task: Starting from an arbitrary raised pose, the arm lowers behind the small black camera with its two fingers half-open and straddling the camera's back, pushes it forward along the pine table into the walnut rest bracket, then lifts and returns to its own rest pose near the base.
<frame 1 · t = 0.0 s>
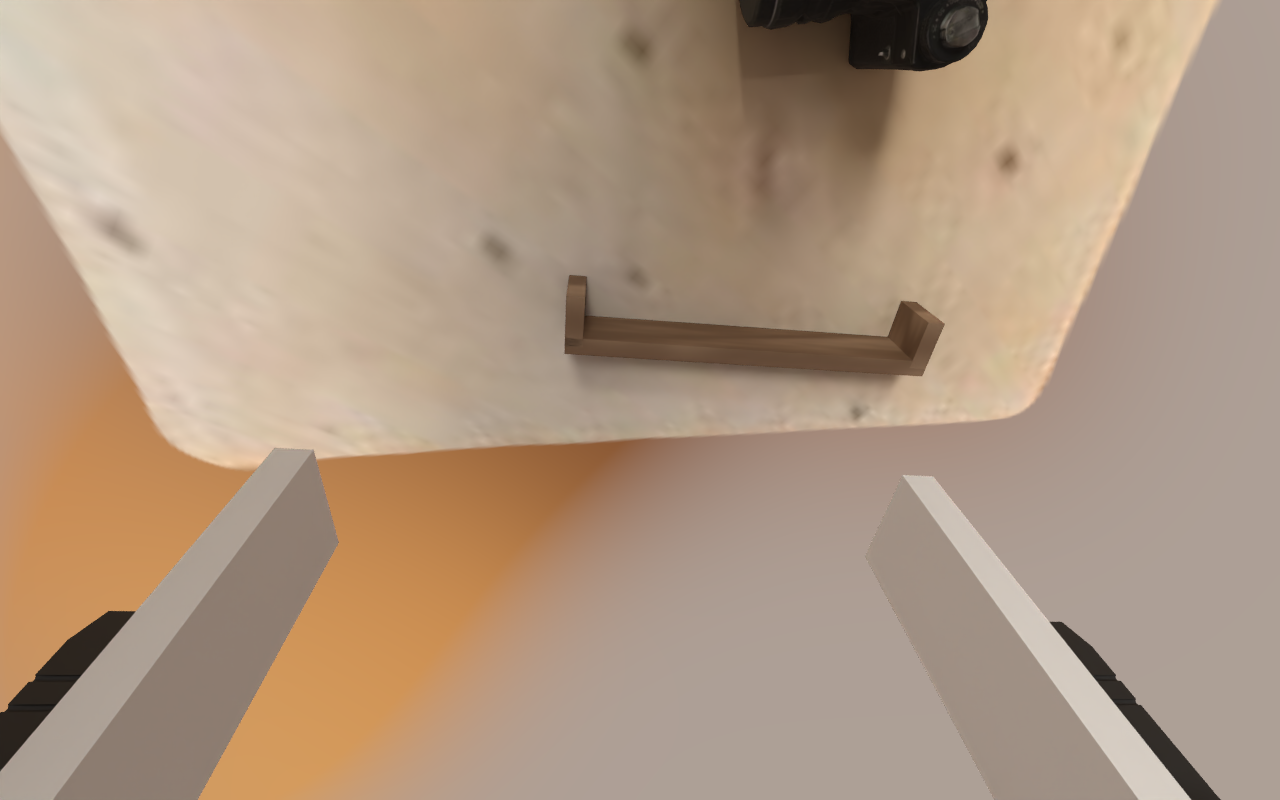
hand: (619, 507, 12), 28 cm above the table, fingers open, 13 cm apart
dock: (759, 241, 38), on the table
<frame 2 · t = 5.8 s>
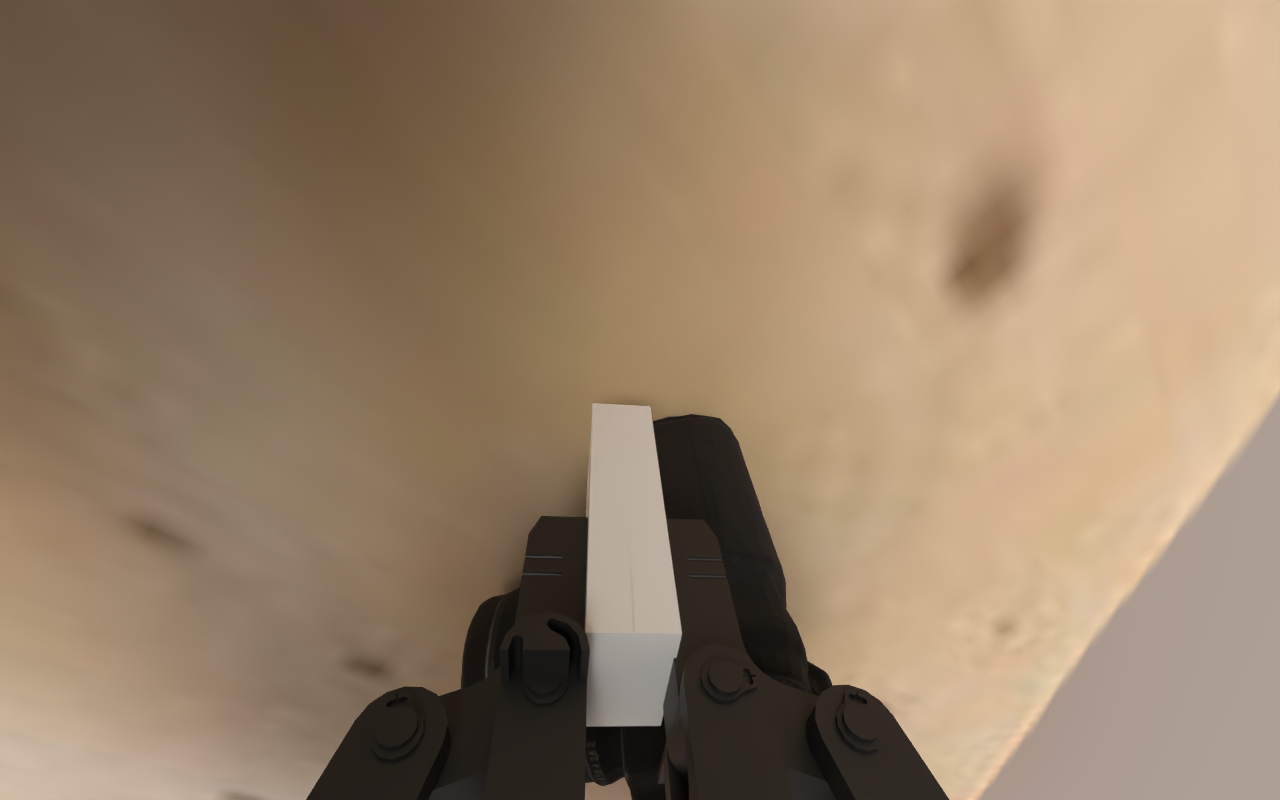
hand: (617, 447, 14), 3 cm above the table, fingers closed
camera: (627, 559, 21), on the table, touching gripper
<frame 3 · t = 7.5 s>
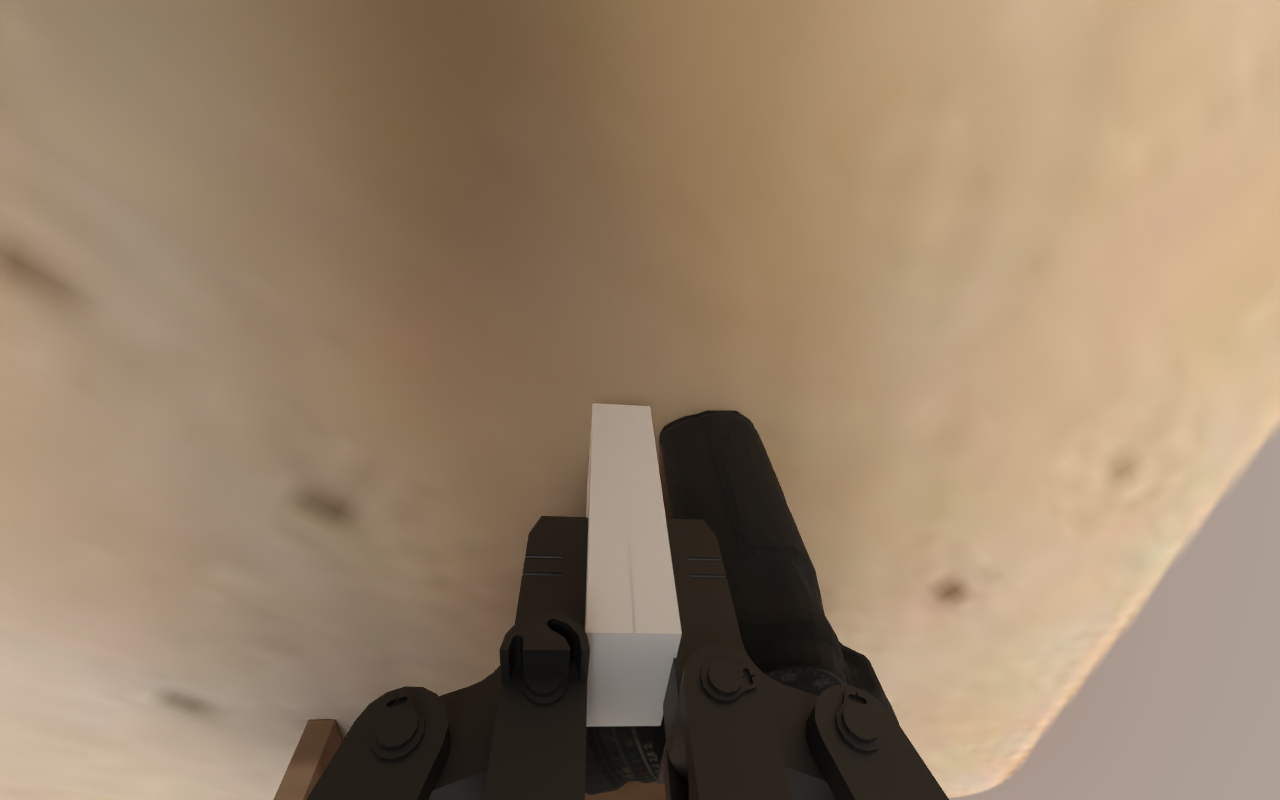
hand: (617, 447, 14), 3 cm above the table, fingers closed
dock: (585, 679, 25), on the table
camera: (668, 559, 22), on the table, touching gripper
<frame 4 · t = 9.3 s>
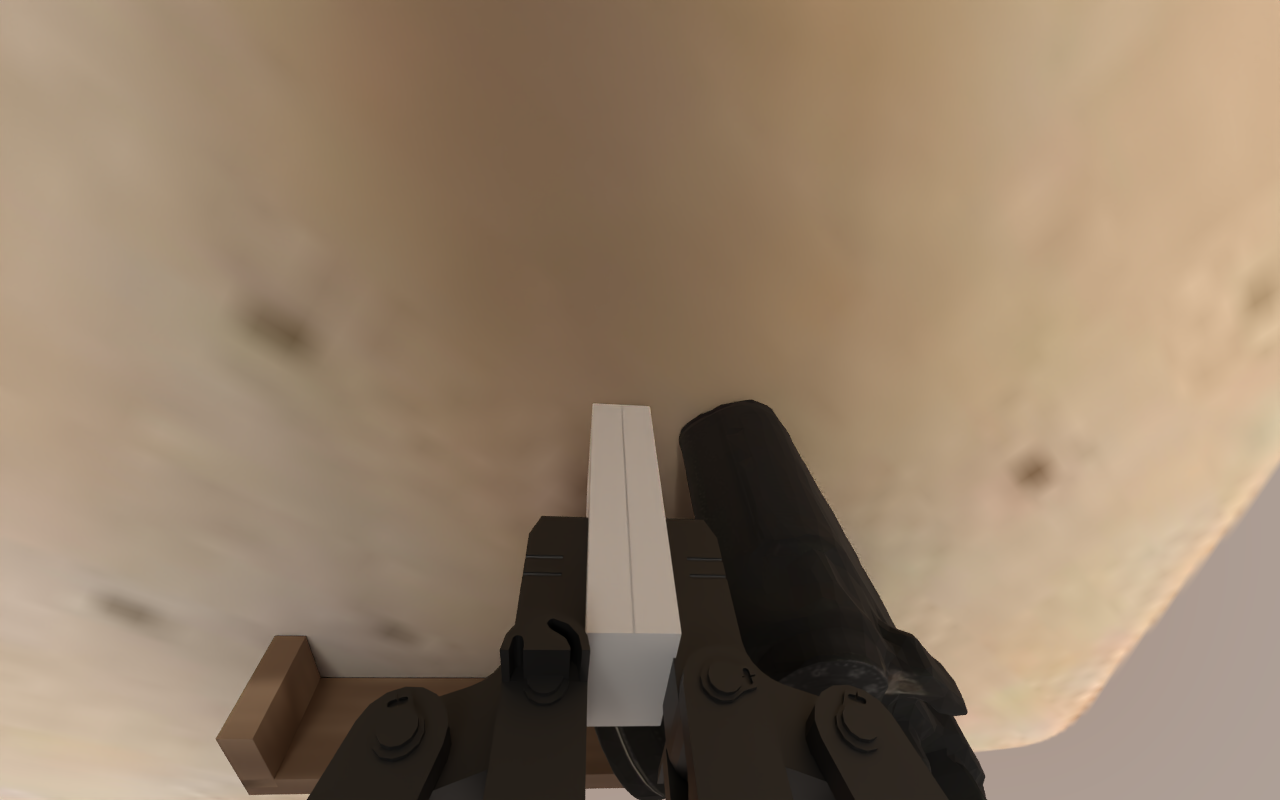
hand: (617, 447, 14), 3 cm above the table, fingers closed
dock: (598, 585, 22), on the table
camera: (721, 555, 21), on the table, touching gripper
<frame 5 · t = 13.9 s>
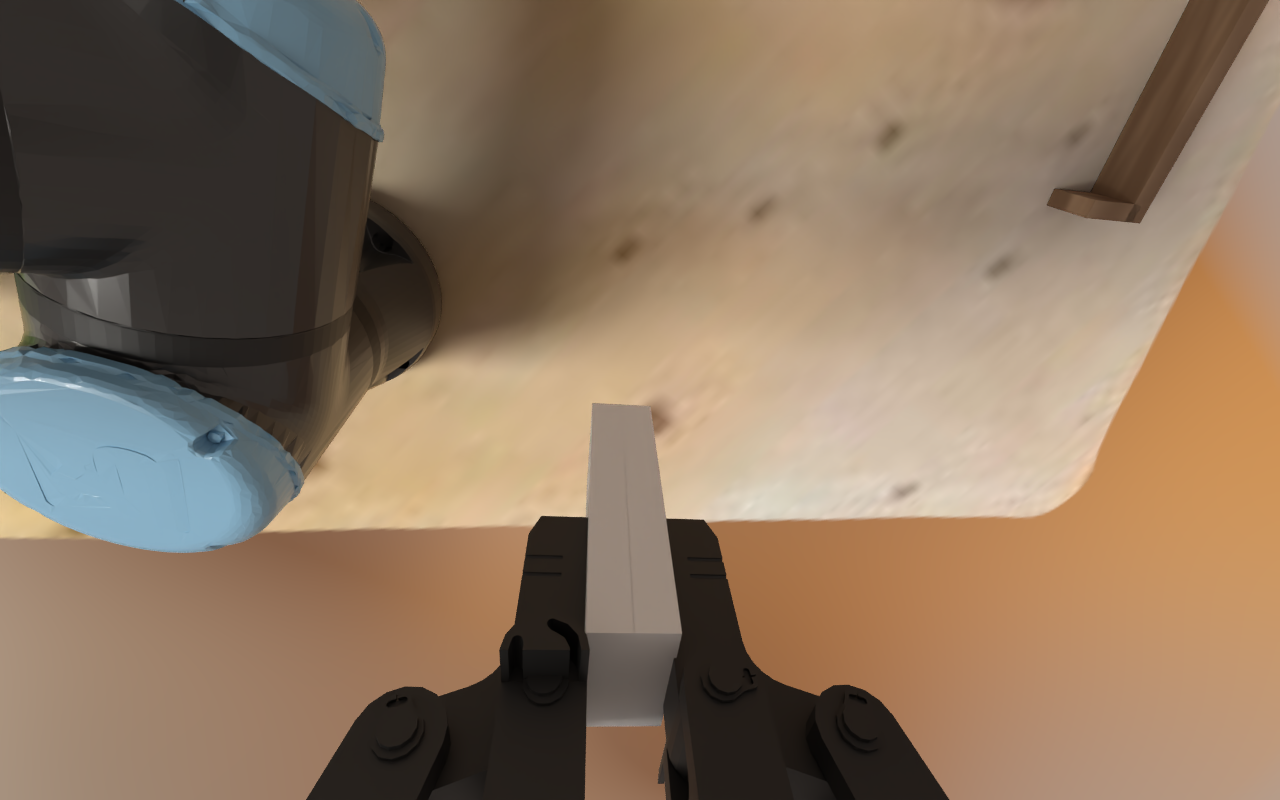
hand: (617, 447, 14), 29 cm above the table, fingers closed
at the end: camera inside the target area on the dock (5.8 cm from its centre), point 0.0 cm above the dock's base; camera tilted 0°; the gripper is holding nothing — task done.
